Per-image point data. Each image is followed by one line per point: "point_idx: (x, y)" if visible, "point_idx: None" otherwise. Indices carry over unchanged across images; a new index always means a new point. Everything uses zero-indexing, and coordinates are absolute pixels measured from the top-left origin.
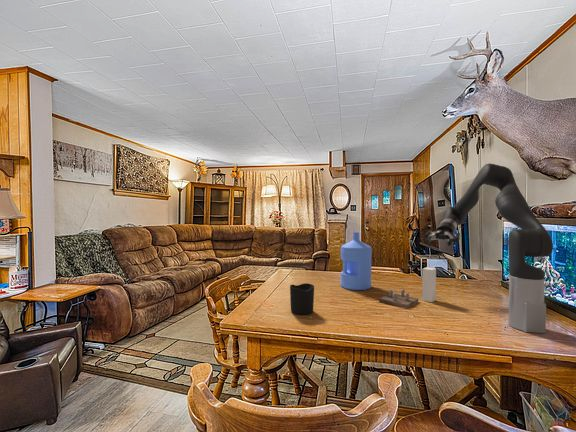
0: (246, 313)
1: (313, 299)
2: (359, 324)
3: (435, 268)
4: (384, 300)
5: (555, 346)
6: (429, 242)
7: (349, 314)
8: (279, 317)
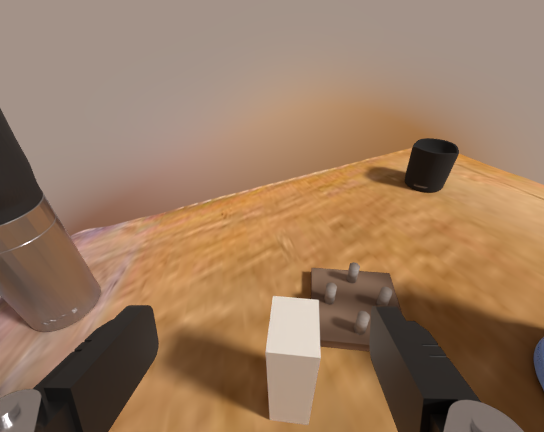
0: None
1: (414, 168)
2: (331, 189)
3: (268, 347)
4: (372, 273)
5: None
6: (378, 367)
7: (368, 204)
8: None
